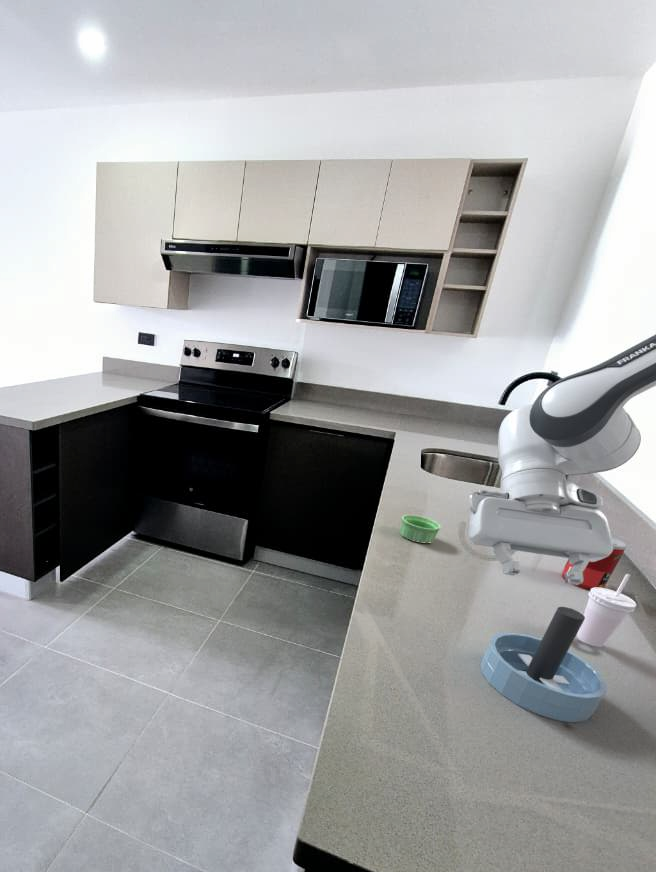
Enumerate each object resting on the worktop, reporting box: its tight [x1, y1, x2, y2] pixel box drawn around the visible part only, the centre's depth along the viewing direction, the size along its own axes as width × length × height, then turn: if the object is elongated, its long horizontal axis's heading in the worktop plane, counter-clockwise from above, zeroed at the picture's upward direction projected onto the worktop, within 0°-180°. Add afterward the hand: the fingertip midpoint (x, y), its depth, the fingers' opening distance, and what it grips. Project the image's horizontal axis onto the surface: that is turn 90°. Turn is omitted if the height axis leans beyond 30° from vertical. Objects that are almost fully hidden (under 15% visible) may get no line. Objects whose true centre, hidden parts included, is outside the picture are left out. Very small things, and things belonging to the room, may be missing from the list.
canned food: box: [561, 536, 627, 591], centre depth 111 cm, size 8×8×11 cm
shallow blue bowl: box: [479, 632, 608, 723], centre depth 74 cm, size 14×14×5 cm
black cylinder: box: [518, 606, 585, 691], centre depth 72 cm, size 8×8×13 cm
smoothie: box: [576, 573, 637, 648], centre depth 86 cm, size 6×6×14 cm
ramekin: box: [399, 514, 442, 543], centre depth 125 cm, size 9×9×4 cm
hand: (542, 578), depth 77 cm, fingers open, 8 cm apart
